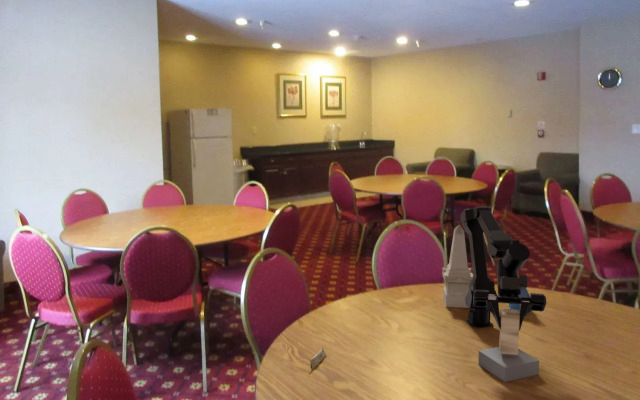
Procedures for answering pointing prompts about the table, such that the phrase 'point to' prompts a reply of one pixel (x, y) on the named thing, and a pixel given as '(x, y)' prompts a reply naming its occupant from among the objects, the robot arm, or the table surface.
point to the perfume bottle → (523, 294)
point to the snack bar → (317, 358)
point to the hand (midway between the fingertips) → (509, 329)
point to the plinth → (508, 364)
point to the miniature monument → (457, 272)
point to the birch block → (509, 331)
